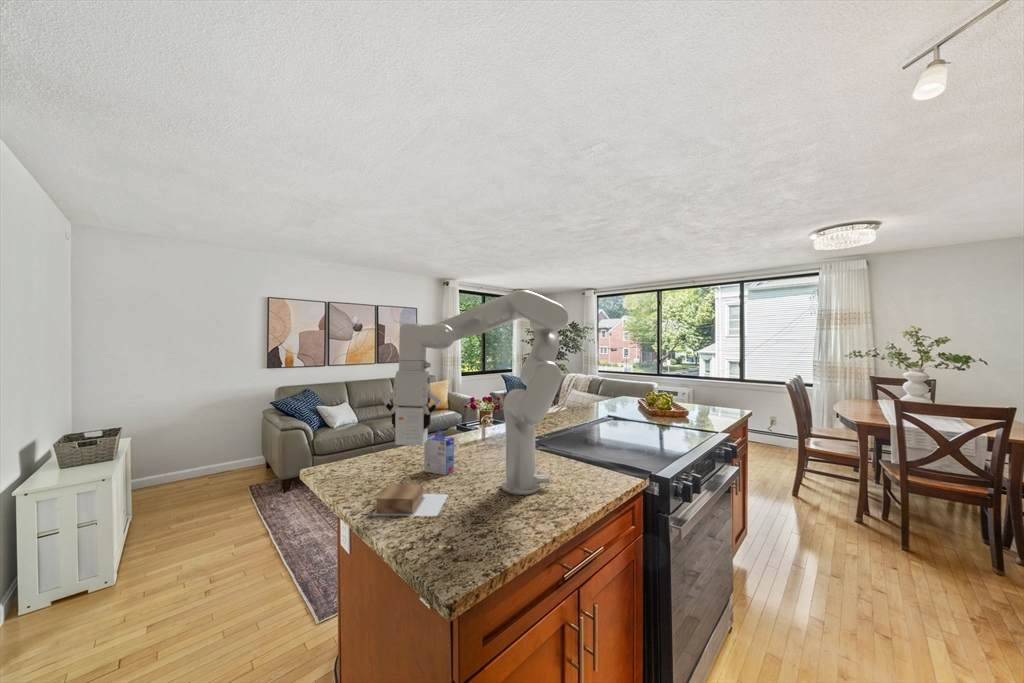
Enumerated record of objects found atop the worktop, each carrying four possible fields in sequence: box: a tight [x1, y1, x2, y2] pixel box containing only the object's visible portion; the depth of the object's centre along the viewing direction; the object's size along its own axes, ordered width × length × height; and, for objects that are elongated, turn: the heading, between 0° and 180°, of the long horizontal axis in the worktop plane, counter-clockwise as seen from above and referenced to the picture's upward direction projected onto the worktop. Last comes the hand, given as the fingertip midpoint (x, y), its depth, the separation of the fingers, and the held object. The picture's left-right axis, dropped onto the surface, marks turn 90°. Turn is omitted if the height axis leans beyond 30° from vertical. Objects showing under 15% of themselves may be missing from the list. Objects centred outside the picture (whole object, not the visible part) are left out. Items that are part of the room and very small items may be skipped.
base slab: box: [375, 483, 424, 514], centre depth 107 cm, size 10×10×4 cm
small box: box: [394, 406, 429, 446], centre depth 107 cm, size 8×6×10 cm
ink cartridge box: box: [423, 429, 455, 476], centre depth 135 cm, size 10×6×14 cm, turn 66°
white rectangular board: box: [371, 493, 449, 517], centre depth 107 cm, size 18×14×1 cm
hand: (411, 427), depth 107 cm, fingers closed on small box, 8 cm apart
